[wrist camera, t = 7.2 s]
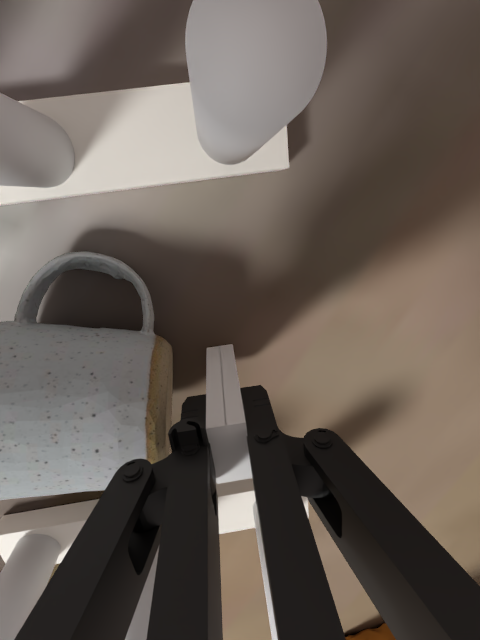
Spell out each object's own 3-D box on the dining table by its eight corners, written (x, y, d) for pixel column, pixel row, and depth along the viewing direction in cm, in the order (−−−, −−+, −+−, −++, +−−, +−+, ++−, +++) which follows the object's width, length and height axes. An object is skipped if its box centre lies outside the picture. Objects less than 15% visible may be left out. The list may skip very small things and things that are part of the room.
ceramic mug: (177, 419, 20) (162, 536, 13) (41, 420, 20) (-54, 547, 12) (178, 252, 17) (158, 290, 10) (11, 244, 16) (-147, 278, 9)
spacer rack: (22, 549, 23) (-89, 763, 15) (-212, 138, 13) (-997, 31, 5) (302, 499, 24) (357, 671, 16) (276, 83, 15) (385, -91, 6)
